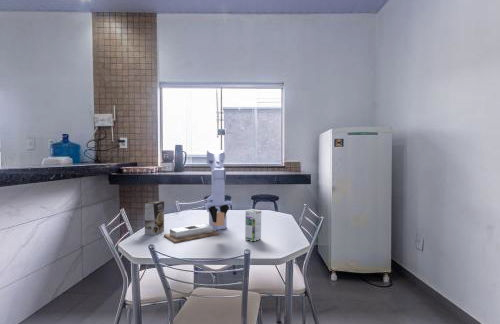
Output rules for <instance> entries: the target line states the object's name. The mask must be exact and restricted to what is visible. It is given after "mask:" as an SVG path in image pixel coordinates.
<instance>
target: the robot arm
mask: <svg viewBox="0 0 500 324" xmlns="http://www.w3.org/2000/svg"><path fill="white" fill-rule="evenodd" d="M225 157H226V155H225V150H224V149H219V150H218V149H217V150H215V149H212V150H211V149H207V150H206V164H207V166H209V167H210V170H211V195H210V196H208V197H207V199H206V203H204V209H206V212H207V213H208V225H211V226H213V230H214V231H219V230H224V229H227V228H228V227H227V221H228V218H227V213H228V211H229V209H230V206H232V205H233V201H232V200H225V198H226V197H225V195H226V194H225V189H226V186H225V185H226V178H227V177H226V176H227V174H226V173H227V172H226V168H225V167H224V163H225ZM217 212H224V225H222V226H215V225H213V222H216V219H217Z"/></svg>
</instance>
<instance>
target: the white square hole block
mask: <svg viewBox="0 0 500 324" xmlns="http://www.w3.org/2000/svg"><path fill="white" fill-rule="evenodd" d="M210 232H213V226H211V225H209V223H208V224H207V223H199V224H195V225H193V224H192V225H187V226H181V227H175V228H170V229H169V233H170V235H171V236H172V237H174V238H176V239H177V238H182V237H188V236H193V235H199V234H204V233H210Z"/></svg>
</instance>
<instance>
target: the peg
mask: <svg viewBox="0 0 500 324" xmlns="http://www.w3.org/2000/svg"><path fill="white" fill-rule="evenodd" d="M213 225H215V226H222V225H224V212H217V219H216V222H213Z"/></svg>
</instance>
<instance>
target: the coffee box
mask: <svg viewBox="0 0 500 324" xmlns="http://www.w3.org/2000/svg"><path fill="white" fill-rule="evenodd" d="M164 231H165V201H164V200H161V201H160V200H159V201H157V200H156V201H150V202H146V203H145V204H144V235H148V236H149V235H151V236H156V235H158V234H161V233H162V232H164Z"/></svg>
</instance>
